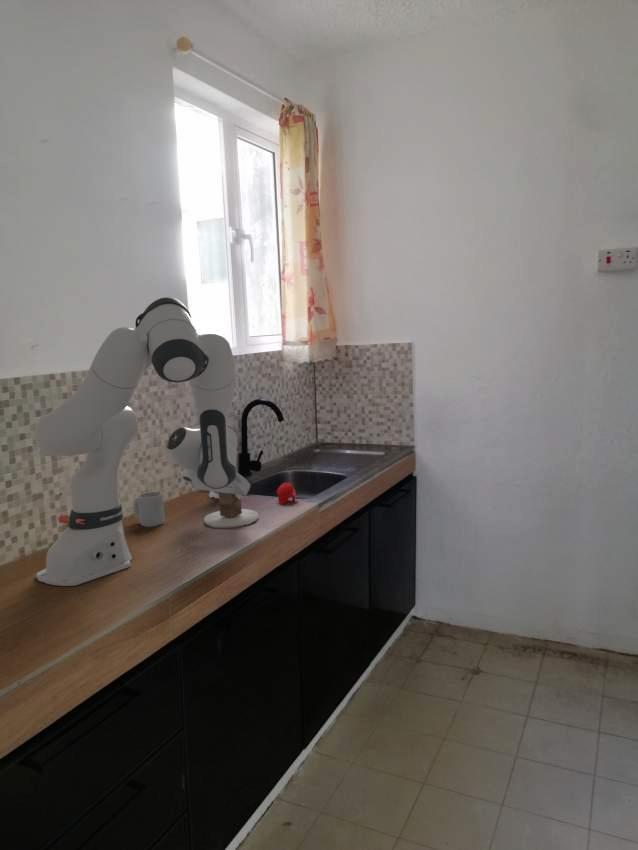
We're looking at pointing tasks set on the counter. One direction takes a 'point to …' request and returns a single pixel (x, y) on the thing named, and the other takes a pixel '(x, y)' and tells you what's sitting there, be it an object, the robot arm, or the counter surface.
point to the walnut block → (229, 505)
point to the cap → (286, 493)
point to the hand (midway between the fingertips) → (231, 496)
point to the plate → (231, 519)
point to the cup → (150, 509)
